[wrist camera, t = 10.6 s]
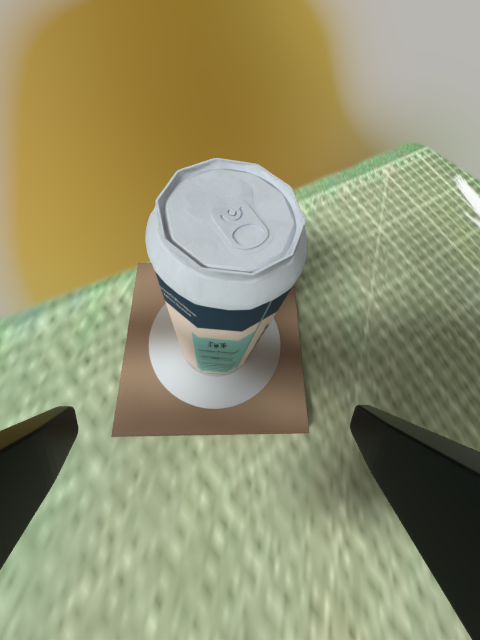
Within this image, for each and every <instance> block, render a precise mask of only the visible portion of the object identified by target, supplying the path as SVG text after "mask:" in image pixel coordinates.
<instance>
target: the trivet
mask: <svg viewBox="0 0 480 640" xmlns="http://www.w3.org/2000/svg"><path fill="white" fill-rule="evenodd" d="M290 433H309V427H308V417H307V407H306V397H305V387H304V377H303V367H302V358H301V348H300V338H299V328H298V318H297V308H296V298H295V288H294V285H293V287H292V289H291V290H290V292H289V293H288V295H287V297H286V298H285V300H284V301H283V303H282V305H281V306H280V308H279V309H278V311H277V313H276V314H275V316H274V318H273V319H272V321H271V322H270V324H269V326H268V327H267V329H266V330H265V332H264V334H263V335H262V337H261V338H260V340H259V342H258V343H257V345H256V346H255V348H254V350H253V351H252V353H251V355H250V356H249V358H248V359H247V361H246V363H245V364H244V365H243V366H242V367H240V368H239V369H238V370H237V371H235V372H233V373H231V374H229V375H226V376H219V377H215V376H207V375H204V374H201V373H199V372H198V371H196V370H194V369H193V368H192V367H191V366H190V365H189V364H188V363H187V361H186V360H185V359H184V356H183V354H182V350H181V347H180V344H179V341H178V338H177V335H176V332H175V329H174V326H173V323H172V320H171V317H170V314H169V311H168V308H167V305H166V303H165V300H164V297H163V294H162V291H161V288H160V285H159V282H158V279H157V276H156V273H155V270H154V268H153V266H152V263H138V268H137V274H136V281H135V287H134V294H133V300H132V307H131V313H130V320H129V326H128V333H127V339H126V346H125V352H124V359H123V365H122V372H121V378H120V384H119V391H118V397H117V404H116V410H115V417H114V423H113V430H112V436H111V437H124V436H179V435H234V434H290Z"/></svg>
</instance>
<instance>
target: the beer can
mask: <svg viewBox="0 0 480 640" xmlns="http://www.w3.org/2000/svg"><path fill="white" fill-rule="evenodd" d="M155 202H156V206H155V208H154V210H153V212H152V213H151V215H150V217H149V220H148V223H147V228H146V245H147V252H148V256H149V258H150V261H151V263H152V266H153V268H154V270H155V273H156V276H157V279H158V282H159V285H160V288H161V291H162V294H163V297H164V300H165V303H166V305H167V308H168V311H169V314H170V317H171V320H172V323H173V326H174V329H175V332H176V335H177V338H178V341H179V344H180V347H181V350H182V354H183V356H184V359H185V360H186V361H187V363H188V364H189V365H190V366H191V367H192V368H193V369H194V370H196V371H198V372H199V373H201V374H204V375H207V376H215V377H219V376H226V375H229V374H231V373H233V372H235V371H237V370H238V369H239V368H240V367H242V366H243V365H244V364H245V363H246V361H247V359H248V358H249V356H250V355H251V353H252V351H253V350H254V348H255V346H256V345H257V343H258V342H259V340H260V338H261V337H262V335H263V334H264V332H265V330H266V329H267V327H268V326H269V324H270V322H271V321H272V319H273V318H274V316H275V314H276V313H277V311H278V309H279V308H280V306H281V305H282V303H283V301H284V300H285V298H286V297H287V295H288V293H289V292H290V290H291V289H292V287H293V285H294V284H295V282H296V281H297V279H298V277H299V276H300V275H301V273H302V271H303V268H304V264H305V261H306V257H307V245H308V242H307V237H306V231H305V226H304V224H305V221H306V220H305V218H304V216H303V213H302V211H301V209H300V206H299V204H298V202H297V199H296V197H295V195H294V192H293V190H292V188H291V186H289V185H287V184H286V183H285V182H283V181H282V180H280V179H279V178H277V177H276V176H274V175H273V174H271V173H270V172H269V171H267V170H266V169H264V168H263V167H261V166H260V165H258V164H254V163H247V162H241V161H234V160H227V159H221V158H214V159H211V160H207V161H204V162H201V163H198V164H195V165H193V166H189V167H186V168H183V169H180V170H177V171H176V173H175V174H174V175H173V177H172V178H171V180H170V181H169V182H168V184H167V185H166V186H165V188H164V189H163V191H162V192H161V194H160V195H159V196H158V198H157V199H156V201H155Z"/></svg>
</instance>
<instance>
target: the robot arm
mask: <svg viewBox="0 0 480 640" xmlns="http://www.w3.org/2000/svg"><path fill="white" fill-rule="evenodd" d="M350 429H351V432H352V435H353V437H354V439H355V441H356V443H357V445H358V447H359V449H360V451H361V453H362V455H363V457H364V460H365V462H366V464H367V466H368V468H369V470H370V471H371V473H372V475H373V477H374V478H375V480H376V482H377V483H378V485H379V487H380V488H381V490H382V492H383V493H384V495H385V497H386V498H387V500H388V502H389V503H390V505H391V506H392V508H393V510H394V511H395V513H396V515H397V516H398V518H399V520H400V521H401V523H402V525H403V526H404V528H405V530H406V531H407V533H408V535H409V536H410V538H411V539H412V541H413V543H414V544H415V546H416V548H417V549H418V551H419V553H420V554H421V556H422V558H423V559H424V561H425V563H426V564H427V566H428V568H429V569H430V571H431V573H432V574H433V576H434V577H435V579H436V581H437V582H438V584H439V586H440V587H441V589H442V591H443V592H444V594H445V596H446V597H447V599H448V601H449V602H450V604H451V606H452V607H453V609H454V611H455V612H456V614H457V615H458V617H459V619H460V620H461V622H462V624H463V625H464V627H465V629H466V630H467V632H468V634H469V635H470V637H471V639H472V640H480V452H478V451H476V450H474V449H471V448H469V447H466V446H464V445H462V444H459V443H457V442H455V441H452V440H450V439H448V438H445V437H443V436H440V435H438V434H436V433H433V432H431V431H429V430H426V429H424V428H422V427H419V426H417V425H415V424H412V423H410V422H407V421H405V420H403V419H400V418H398V417H396V416H393V415H391V414H389V413H386V412H384V411H382V410H379V409H377V408H374V407H372V406H370V405H357V406H356V407H355V410H354V413H353V416H352V420H351V423H350ZM77 434H78V424H77V419H76V414H75V410H74V408H73V407H71V406H59V407H56V408H53V409H51V410H49V411H46V412H44V413H42V414H39V415H37V416H34V417H32V418H30V419H27V420H25V421H23V422H20V423H18V424H16V425H13V426H11V427H9V428H6V429H4V430H2V431H0V570H1V568H2V566H3V565H4V563H5V561H6V560H7V558H8V557H9V555H10V553H11V552H12V550H13V548H14V547H15V545H16V544H17V542H18V540H19V539H20V537H21V536H22V534H23V532H24V531H25V529H26V527H27V526H28V524H29V523H30V521H31V519H32V518H33V516H34V515H35V513H36V511H37V510H38V508H39V506H40V505H41V503H42V502H43V500H44V498H45V497H46V495H47V494H48V492H49V490H50V489H51V487H52V485H53V484H54V482H55V480H56V478H57V476H58V474H59V472H60V470H61V468H62V466H63V464H64V462H65V460H66V458H67V456H68V454H69V451H70V449H71V447H72V445H73V443H74V441H75V439H76V437H77Z"/></svg>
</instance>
